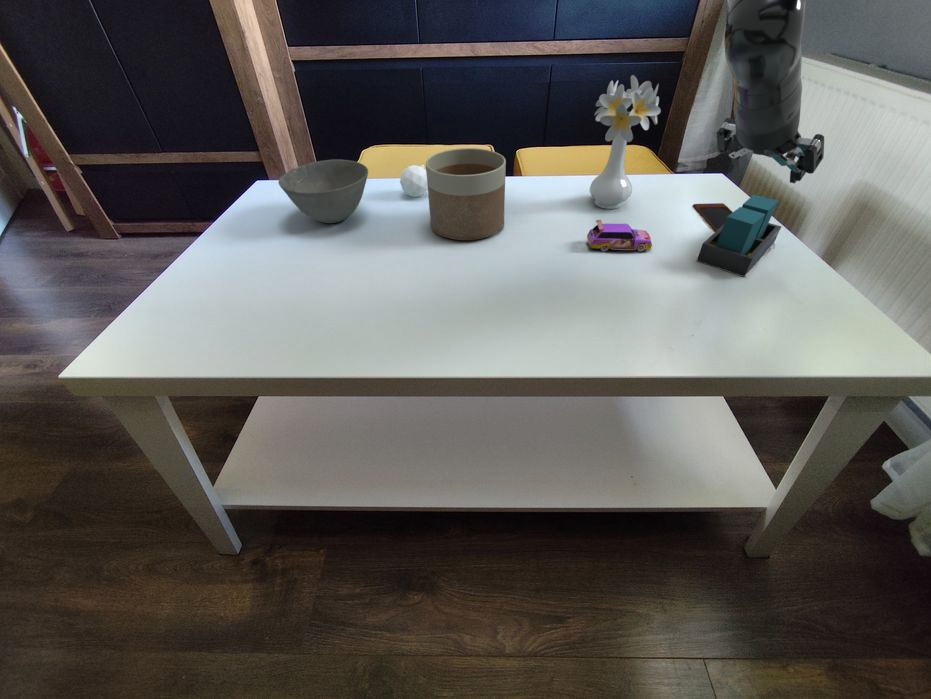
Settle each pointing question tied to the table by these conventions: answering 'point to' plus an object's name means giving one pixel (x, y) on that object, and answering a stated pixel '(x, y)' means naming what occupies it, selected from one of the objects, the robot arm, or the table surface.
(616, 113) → the flower vase
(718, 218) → the smartphone
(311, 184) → the bowl
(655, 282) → the table surface
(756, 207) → the teal cuboid
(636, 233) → the toy car
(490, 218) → the planter
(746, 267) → the dark grey open box
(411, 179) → the ornament
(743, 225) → the teal block
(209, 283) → the table surface
